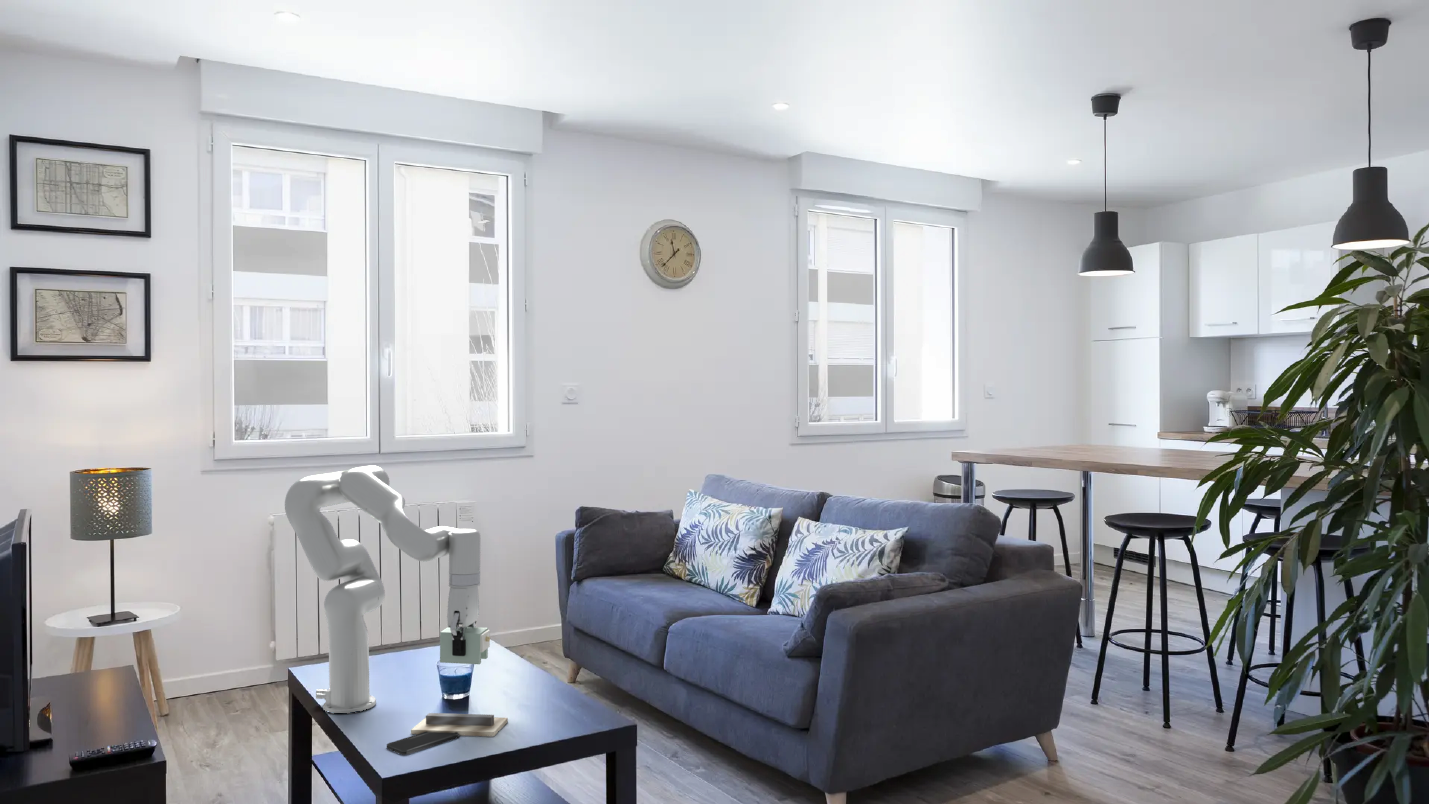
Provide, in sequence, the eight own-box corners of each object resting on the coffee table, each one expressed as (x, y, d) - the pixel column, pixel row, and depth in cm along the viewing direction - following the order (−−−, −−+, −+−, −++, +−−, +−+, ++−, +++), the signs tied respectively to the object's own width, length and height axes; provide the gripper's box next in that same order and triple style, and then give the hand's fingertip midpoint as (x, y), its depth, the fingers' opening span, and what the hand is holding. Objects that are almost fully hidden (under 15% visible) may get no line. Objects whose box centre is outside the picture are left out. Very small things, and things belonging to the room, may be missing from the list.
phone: (461, 733, 231) (403, 752, 219) (461, 738, 231) (403, 757, 219) (441, 726, 236) (384, 744, 224) (441, 731, 236) (384, 749, 224)
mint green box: (439, 662, 244) (440, 632, 244) (449, 655, 250) (449, 626, 250) (484, 664, 243) (485, 634, 243) (493, 657, 249) (493, 628, 249)
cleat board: (410, 734, 233) (410, 721, 233) (428, 719, 243) (427, 707, 243) (493, 736, 231) (493, 723, 231) (507, 721, 241) (507, 709, 241)
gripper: (462, 572, 255) (462, 642, 256) (436, 586, 238) (435, 661, 239) (491, 573, 255) (490, 643, 255) (466, 587, 237) (466, 662, 238)
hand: (464, 651), depth 247 cm, fingers closed on mint green box, 6 cm apart
